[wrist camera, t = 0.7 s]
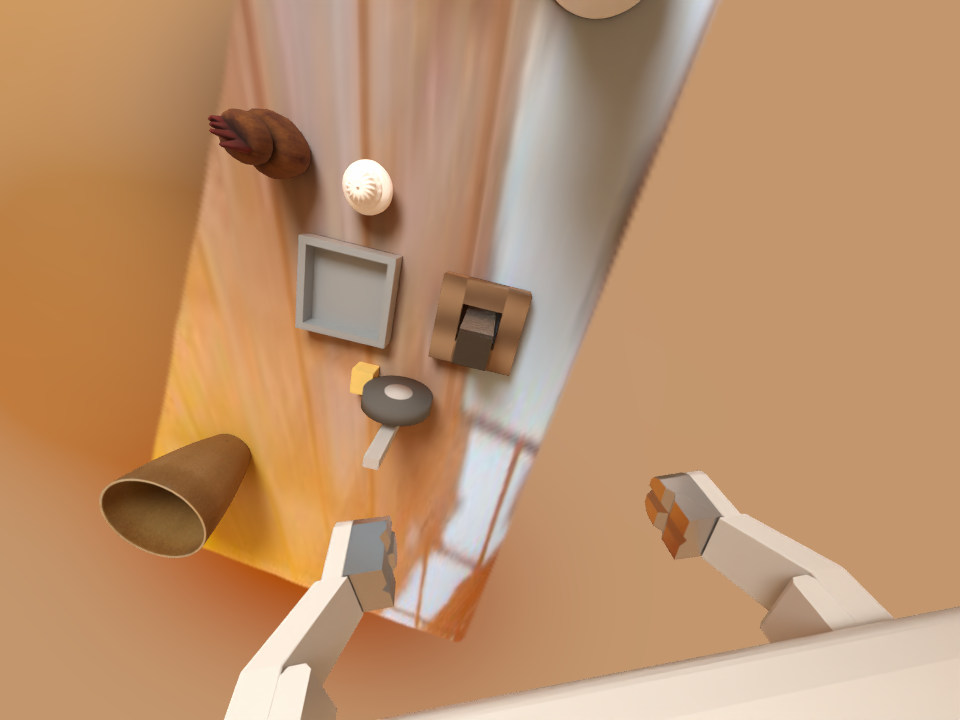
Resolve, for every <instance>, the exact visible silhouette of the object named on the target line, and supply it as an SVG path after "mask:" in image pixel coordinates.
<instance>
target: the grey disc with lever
mask: <svg viewBox="0 0 960 720" xmlns="http://www.w3.org/2000/svg"><path fill="white" fill-rule="evenodd" d="M379 367H380V366H376V365H372V364H368V363H364V362H359V363H358V364H357V365H356V366H355V367H354V368H353V369H352V375H351V385H350V392H351V393H355V394H359V395H362V400H361V408H362V410H363V412H364V413H365V414H366V415H367V416H368V417H369V418H371V419H372V420H374V421H376V422H379V423H382V426H381V428H380V430H379V431H378V433H377V435H376V436H375V438H374V440H373V441H372V443H371V445H370V447H369V448H368V450H367V452H366V453H365V455H364V457H363V465H362V467H366V468H370V469H375V470H378V469H379V467H380V465H381V463H382V461H383V459H384V457H385V455H386V453H387V451H388V449H389V447H390V445H391V443H392V441H393V439H394V437H395V435H396V433H397V431H398V429H399V427H400V426H411V425H415V424H418V423H420V422H422V421H424V420H425V419H426V418H427V417H428V416H429V413H430V409H431V404H432V399H433V395H432V392H431V391H430V389H429V388H428V387H427V386H425V385H424V384H422V383H420V382H418V381H416V380H413V379H410V378H407V377H401V376H382V377H378V375H379Z"/></svg>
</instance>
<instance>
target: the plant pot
mask: <svg viewBox="0 0 960 720" xmlns="http://www.w3.org/2000/svg"><path fill="white" fill-rule="evenodd" d="M250 458H251V454H250V450H249V448H248V447H247V445H246V444H245V443H244V442H243V441H242V440H240V439H239V438H237V437H235V436H232V435H228V434H220V435H216V436H213V437H210V438H207V439H203V440H201V441H198V442H195V443H192V444H190V445H187V446H185V447H182V448H180V449H177V450H175V451H173V452H170V453H168V454H166V455H164V456H161V457H159V458H157V459H155V460H153V461H151V462H149V463H147V464H145V465H143V466H141V467H139V468H137V469H135V470H133V471H132V472H130V473H128V474H126V475H125V476H122V477H121V478H119V479H117V480H116V481H114V482H112V483H111V484H109V485H107V486H106V487H105V488H104V489H103V491H102V493H101V495H100V499H99V505H100V510H101V513H102V515H103V517H104V519H105V520H106V522H107V523H108V525H109V526H110V527H111V528H112V529H113V530H114V531H115V532H116V533H117V534H118V535H119V536H120V537H121V538H123V539H124V540H125V541H127V542H128V543H129V544H131V545H133V546H135V547H137V548H139V549H141V550H143V551H145V552H148V553H151V554H154V555H158V556H162V557H169V558H181V557H186V556H190V555H192V554H194V553H196V552H197V551H199V550H200V549H201V548H202V547H203V545H204V544H205V542H206V541H207V539H208V538H209V536H210V535H211V533H212V532H213V531H214V529H215V528H216V526H217V525H218V523H219V522H220V520H221V518H222V517H223V515H224V514H225V512H226V510H227V509H228V507H229V505H230V503H231V502H232V500H233V498H234V496H235V494H236V492H237V490H238V488H239V486H240V484H241V482H242V479H243V477H244V475H245V472H246V470H247V467H248V464H249V462H250Z"/></svg>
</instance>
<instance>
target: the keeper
mask: <svg viewBox="0 0 960 720" xmlns="http://www.w3.org/2000/svg"><path fill="white" fill-rule="evenodd" d="M531 299H532V294H531V292H530V291H526V290H522V289H518V288H514V287H510V286H506V285H502V284H498V283H494V282H490V281H486V280H482V279H478V278H474V277H470V276H466V275H462V274H458V273H454V272H450V271H447V272H446V273H445V274H444V278H443V283H442V288H441V293H440V299H439V304H438V309H437V314H436V319H435V325H434V330H433V335H432V340H431V345H430V351H429V357H433V358H437V359H442V360H446V361H450V362H452V359H453V354H454V350H455V345H456V341H457V336H458V335H457V333H458V329H459V324H460V319H461V315H462V310H463V306H464V304H467V305H471V306H475V307H479V308H483V309H487V310H491V311H495V312H499V313H502V314H501V318H500V322H499V325H498V329H497V333H496V337H495V340H494V344H493V343H492V345H491V349H490V353H489V357H488V361H487V364H486V368H485V370H487V371H491V372H495V373H499V374H503V375H507V376H509V374H510V370H511V367H512V364H513V360H514V357H515V354H516V350H517V347H518V343H519V340H520V337H521V333H522V330H523V326H524V323H525V320H526V316H527V313H528V309H529V306H530V303H531Z"/></svg>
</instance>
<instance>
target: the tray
mask: <svg viewBox="0 0 960 720" xmlns="http://www.w3.org/2000/svg"><path fill="white" fill-rule="evenodd" d="M402 257H403V256H401V255H397V254H393V253H389V252H385V251H381V250H377V249H373V248H369V247H365V246H361V245H357V244H353V243H349V242H345V241H341V240H337V239H333V238H329V237H325V236H321V235H317V234H313V233H306V234H299V235H298V265H297V295H296V325H295V327H296V328H300V329H304V330H308V331H312V332H316V333H320V334H325V335H329V336H333V337H337V338H341V339H345V340H349V341H353V342H357V343H361V344H366V345H370V346H374V347H378V348H382V349H384V348H385V347H386V346H387V345H388V344H389V343H390V340H391V333H392V326H393V319H394V313H395V306H396V299H397V292H398V285H399V278H400V271H401V264H402Z"/></svg>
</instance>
